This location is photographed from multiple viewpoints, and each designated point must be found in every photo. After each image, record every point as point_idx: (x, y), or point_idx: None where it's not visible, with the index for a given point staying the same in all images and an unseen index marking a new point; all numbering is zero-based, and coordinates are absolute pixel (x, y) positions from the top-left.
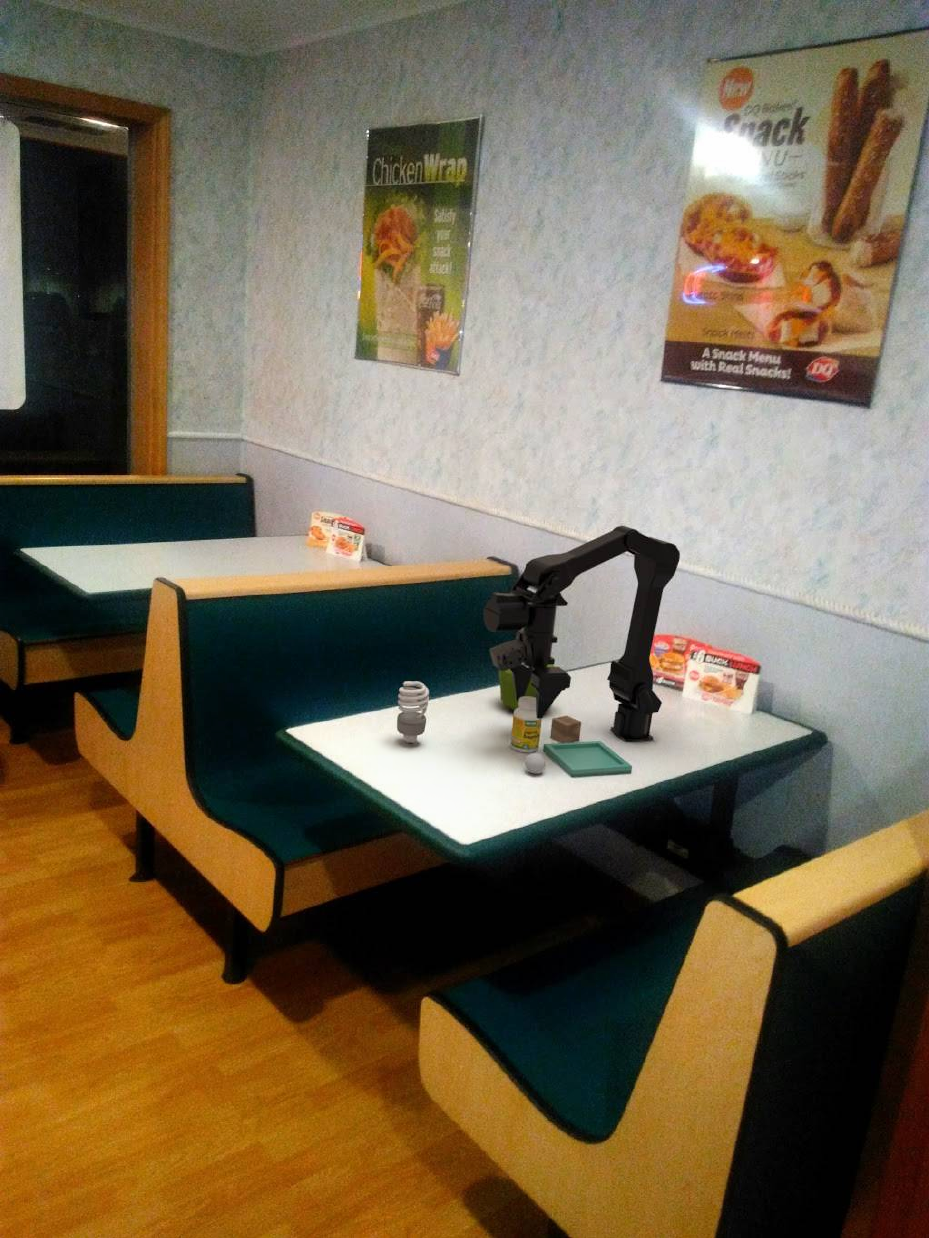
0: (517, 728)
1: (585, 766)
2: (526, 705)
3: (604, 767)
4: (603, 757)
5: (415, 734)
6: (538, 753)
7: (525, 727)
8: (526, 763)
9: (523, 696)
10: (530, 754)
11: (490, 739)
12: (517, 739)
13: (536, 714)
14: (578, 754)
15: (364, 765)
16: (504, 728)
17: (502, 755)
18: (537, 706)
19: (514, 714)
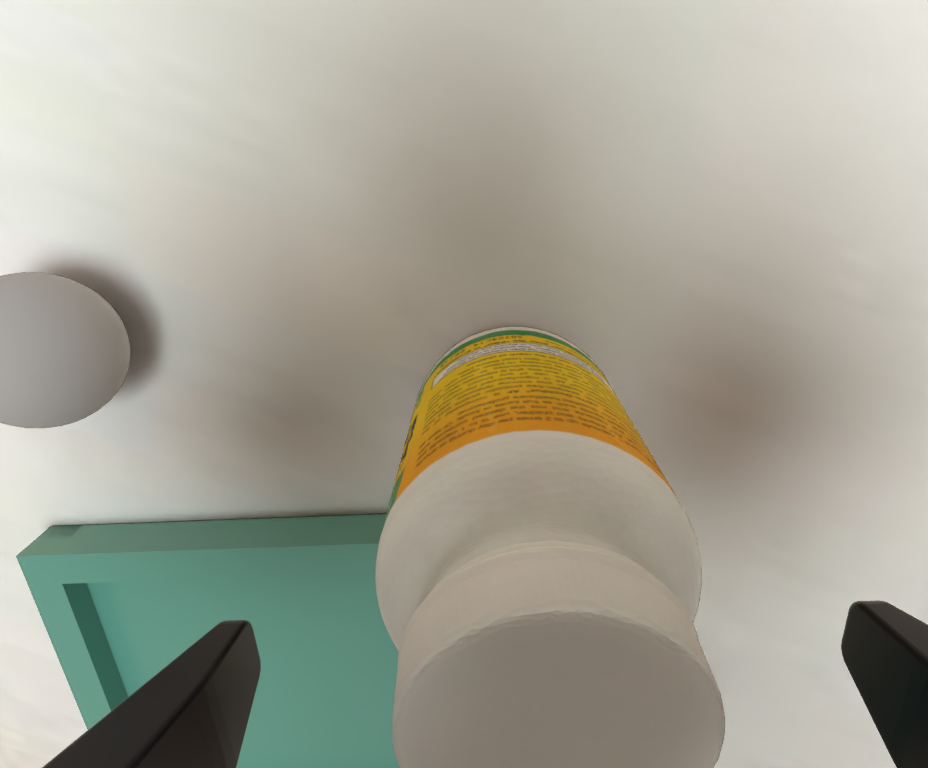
0: (461, 399)
1: (164, 642)
2: (425, 634)
3: (89, 720)
4: (297, 761)
5: None
6: (10, 401)
7: (402, 466)
8: (5, 276)
9: (872, 715)
10: (2, 332)
11: (707, 220)
12: (451, 368)
13: (221, 644)
14: (338, 669)
15: None
16: (881, 404)
17: (388, 207)
18: (82, 754)
19: (550, 438)
